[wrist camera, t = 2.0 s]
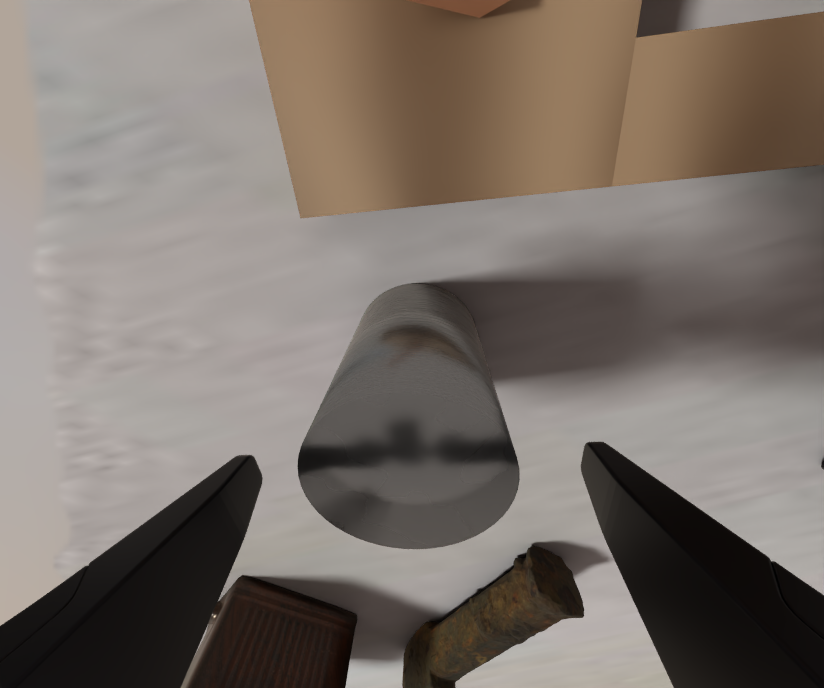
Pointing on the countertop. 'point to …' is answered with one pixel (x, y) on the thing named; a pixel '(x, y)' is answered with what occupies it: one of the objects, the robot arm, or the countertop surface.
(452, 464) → the peg
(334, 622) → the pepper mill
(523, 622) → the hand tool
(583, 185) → the hole plate
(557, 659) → the countertop surface
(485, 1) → the pink flat plate
